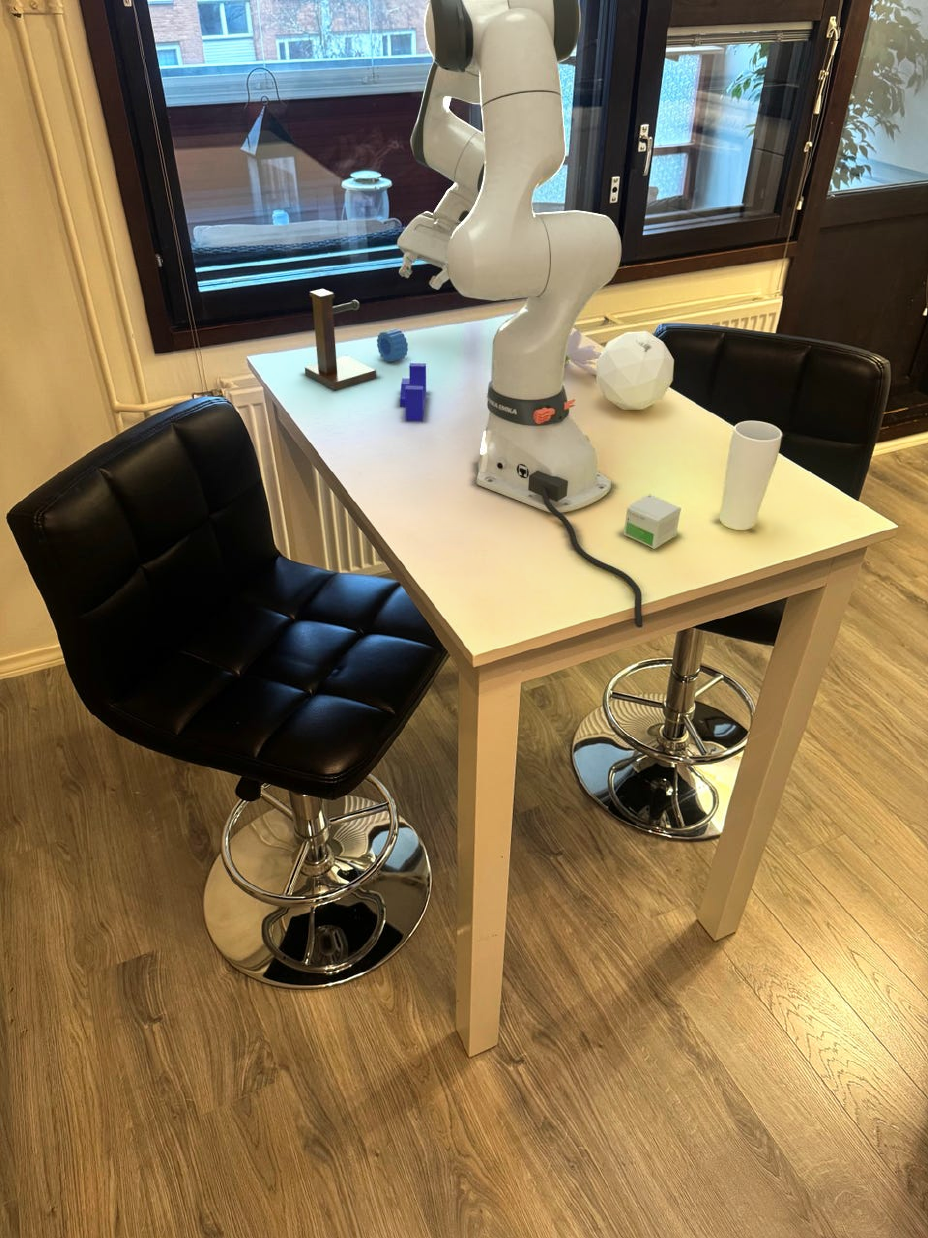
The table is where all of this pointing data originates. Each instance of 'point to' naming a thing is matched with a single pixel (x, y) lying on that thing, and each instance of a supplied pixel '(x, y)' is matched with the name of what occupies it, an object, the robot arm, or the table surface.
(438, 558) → the table surface
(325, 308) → the hook stand
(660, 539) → the small box
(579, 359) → the water lily
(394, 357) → the fluted cylinder
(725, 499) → the drinking glass
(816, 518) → the table surface
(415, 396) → the cable clip
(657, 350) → the geodesic sphere
